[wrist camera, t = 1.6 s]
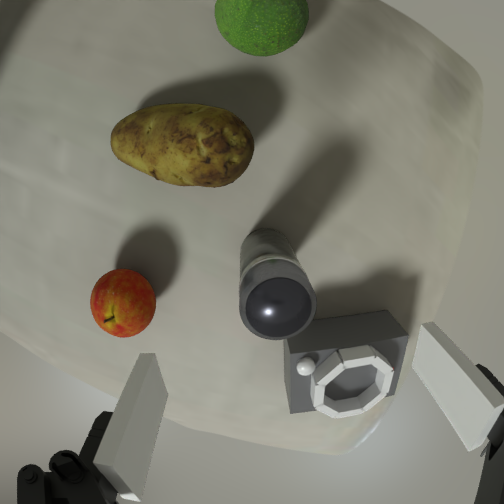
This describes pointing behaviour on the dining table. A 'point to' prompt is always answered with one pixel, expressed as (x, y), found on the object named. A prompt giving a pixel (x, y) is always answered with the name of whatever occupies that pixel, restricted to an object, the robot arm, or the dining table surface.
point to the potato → (184, 144)
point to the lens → (273, 287)
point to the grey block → (344, 363)
